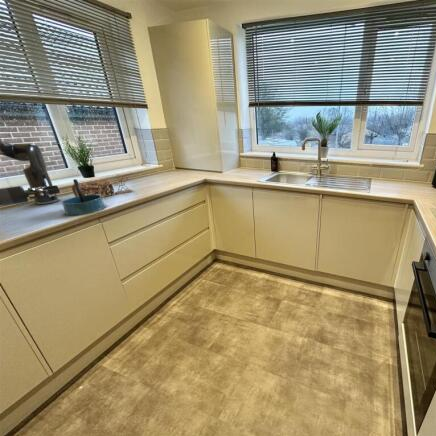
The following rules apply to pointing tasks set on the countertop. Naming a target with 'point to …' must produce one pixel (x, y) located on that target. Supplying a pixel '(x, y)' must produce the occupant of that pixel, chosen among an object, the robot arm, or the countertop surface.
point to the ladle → (79, 190)
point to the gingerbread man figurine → (121, 185)
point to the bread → (95, 188)
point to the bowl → (83, 205)
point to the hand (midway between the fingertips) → (58, 188)
